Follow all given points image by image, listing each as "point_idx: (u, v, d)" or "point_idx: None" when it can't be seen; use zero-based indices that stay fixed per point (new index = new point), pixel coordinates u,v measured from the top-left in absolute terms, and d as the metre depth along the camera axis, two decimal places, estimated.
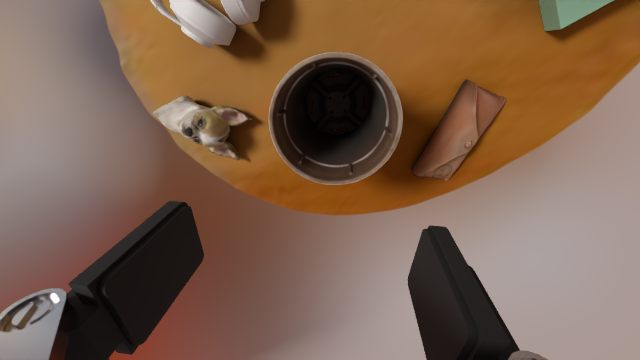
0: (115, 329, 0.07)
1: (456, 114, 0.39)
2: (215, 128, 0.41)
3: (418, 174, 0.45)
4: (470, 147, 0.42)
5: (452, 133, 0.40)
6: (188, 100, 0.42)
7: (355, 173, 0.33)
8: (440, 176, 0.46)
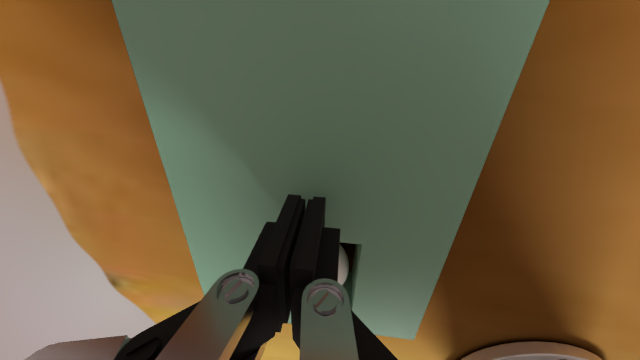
0: (278, 307, 0.07)
1: None
2: None
3: None
4: None
5: None
6: None
7: None
8: None
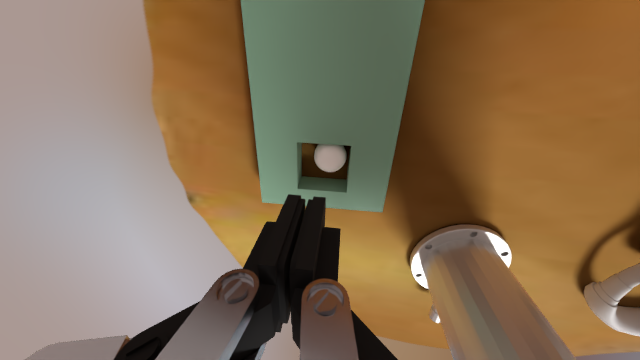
0: (278, 307, 0.07)
1: None
2: None
3: None
4: None
5: None
6: None
7: None
8: None
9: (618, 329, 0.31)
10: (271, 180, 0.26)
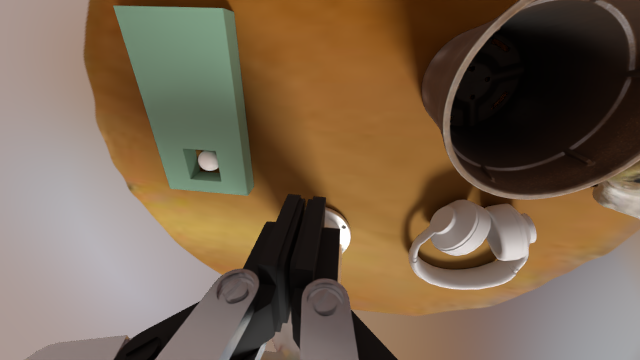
0: (278, 308, 0.07)
1: None
2: None
3: None
4: None
5: None
6: (604, 198, 0.33)
7: None
8: None
9: (428, 281, 0.44)
10: (173, 173, 0.40)
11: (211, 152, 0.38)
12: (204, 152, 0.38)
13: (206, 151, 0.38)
